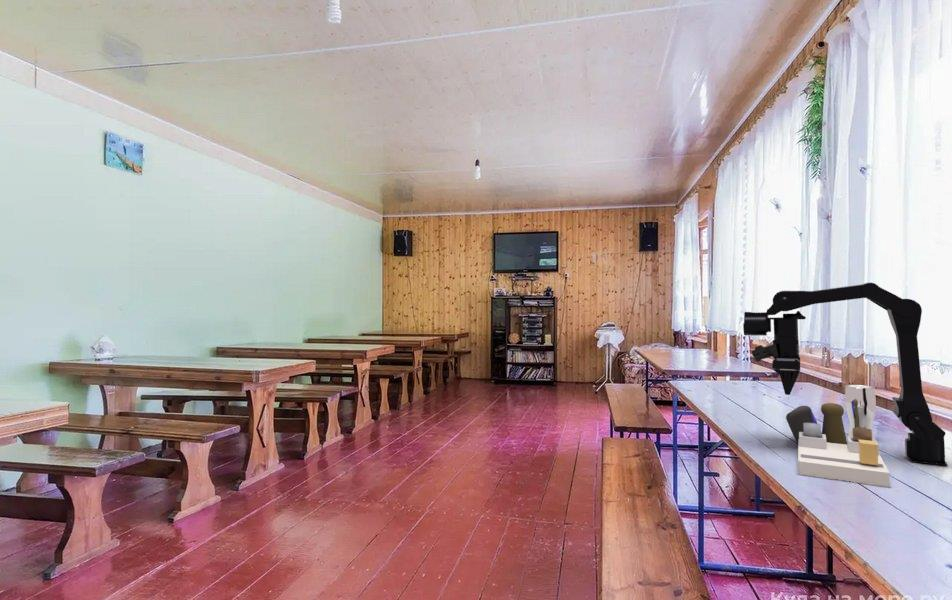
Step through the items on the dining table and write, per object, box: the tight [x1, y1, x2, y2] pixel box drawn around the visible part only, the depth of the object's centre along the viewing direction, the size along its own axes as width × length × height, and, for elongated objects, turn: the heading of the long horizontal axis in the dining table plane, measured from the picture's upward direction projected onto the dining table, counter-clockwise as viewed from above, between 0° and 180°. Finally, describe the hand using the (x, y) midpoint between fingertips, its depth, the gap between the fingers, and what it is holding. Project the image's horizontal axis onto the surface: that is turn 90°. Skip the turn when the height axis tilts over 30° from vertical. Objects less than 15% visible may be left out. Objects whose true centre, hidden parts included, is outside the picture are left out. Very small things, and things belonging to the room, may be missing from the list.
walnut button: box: [853, 427, 872, 442], centre depth 118 cm, size 4×4×3 cm
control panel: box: [797, 432, 891, 488], centre depth 116 cm, size 16×22×6 cm
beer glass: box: [844, 384, 877, 440], centre depth 140 cm, size 7×7×15 cm
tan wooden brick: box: [858, 439, 878, 465], centre depth 108 cm, size 3×4×4 cm
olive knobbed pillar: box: [820, 402, 847, 445], centre depth 136 cm, size 6×6×11 cm
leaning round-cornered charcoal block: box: [785, 405, 822, 446], centre depth 136 cm, size 16×5×9 cm, turn 135°
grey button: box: [803, 423, 822, 438], centre depth 124 cm, size 4×4×3 cm
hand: (787, 392), depth 135 cm, fingers open, 9 cm apart
